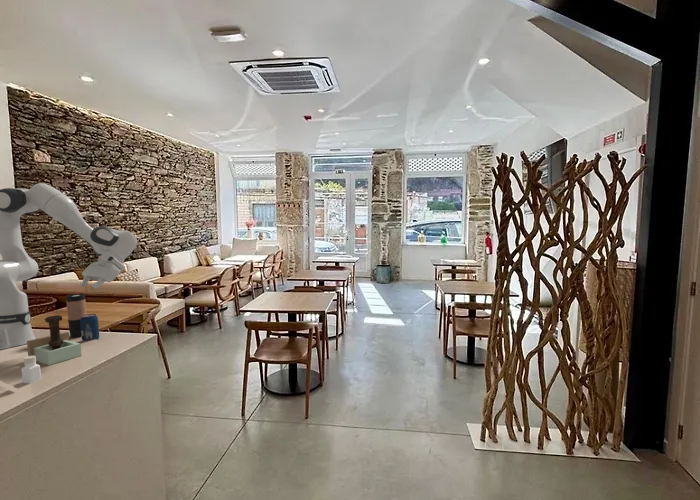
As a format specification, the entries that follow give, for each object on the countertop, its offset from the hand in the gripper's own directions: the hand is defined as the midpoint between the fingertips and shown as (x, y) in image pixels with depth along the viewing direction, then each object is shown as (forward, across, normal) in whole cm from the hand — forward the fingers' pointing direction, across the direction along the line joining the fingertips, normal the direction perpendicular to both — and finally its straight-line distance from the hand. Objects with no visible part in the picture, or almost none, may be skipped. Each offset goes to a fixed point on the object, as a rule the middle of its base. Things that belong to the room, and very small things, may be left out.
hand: (87, 287), depth 173 cm
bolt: (+28, +2, +8) cm, 29 cm away
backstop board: (+29, +5, +9) cm, 31 cm away
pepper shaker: (+40, +21, -2) cm, 46 cm away
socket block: (+29, +4, +8) cm, 30 cm away
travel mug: (+14, -27, +25) cm, 39 cm away
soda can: (+15, -13, +24) cm, 31 cm away
